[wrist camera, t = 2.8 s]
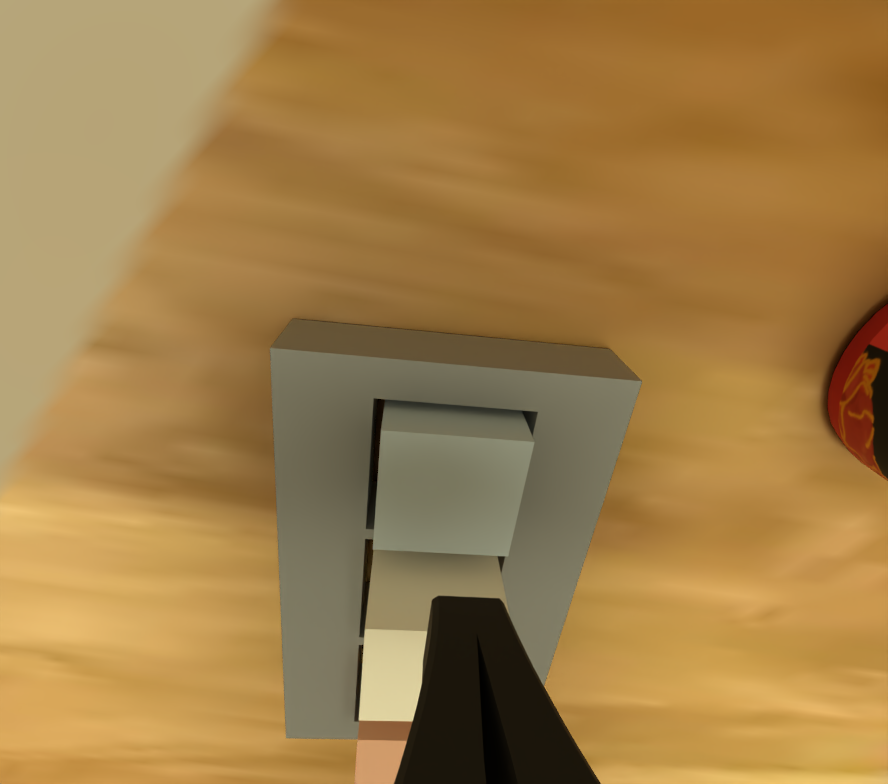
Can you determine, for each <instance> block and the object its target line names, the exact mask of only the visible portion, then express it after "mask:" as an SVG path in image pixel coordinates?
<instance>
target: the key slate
mask: <svg viewBox="0 0 888 784" xmlns="http://www.w3.org/2000/svg"><path fill="white" fill-rule="evenodd" d="M533 447H534V439H533V437H532V434H531V432H530V429H529V427H528V425H527V422H526V420H525V417H524V415H523V412H522V410H510V409H498V408H486V407H474V406H461V405H449V404H437V403H425V402H412V401H400V400H388V399H385V404H384V412H383V419H382V427H381V438H380V452H379V466H378V481H377V495H376V509H375V524H374V538H373V549H374V550H393V551H412V552H431V553H450V554H469V555H488V556H507V557H508V555H509V551H510V546H511V542H512V538H513V533H514V529H515V525H516V520H517V516H518V512H519V507H520V503H521V499H522V494H523V490H524V486H525V481H526V477H527V473H528V468H529V464H530V460H531V455H532V451H533Z"/></svg>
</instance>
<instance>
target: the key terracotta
mask: <svg viewBox="0 0 888 784" xmlns="http://www.w3.org/2000/svg"><path fill="white" fill-rule="evenodd" d="M412 722H413V721H362V720H359V730H358V740H357V754H356V769H355V784H394V782H395V779H396V776H397V773H398V769H399V766H400V763H401V759H402V756H403V753H404V749H405V746H406V742H407V739H408V735H409V732H410V729H411V725H412Z"/></svg>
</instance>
